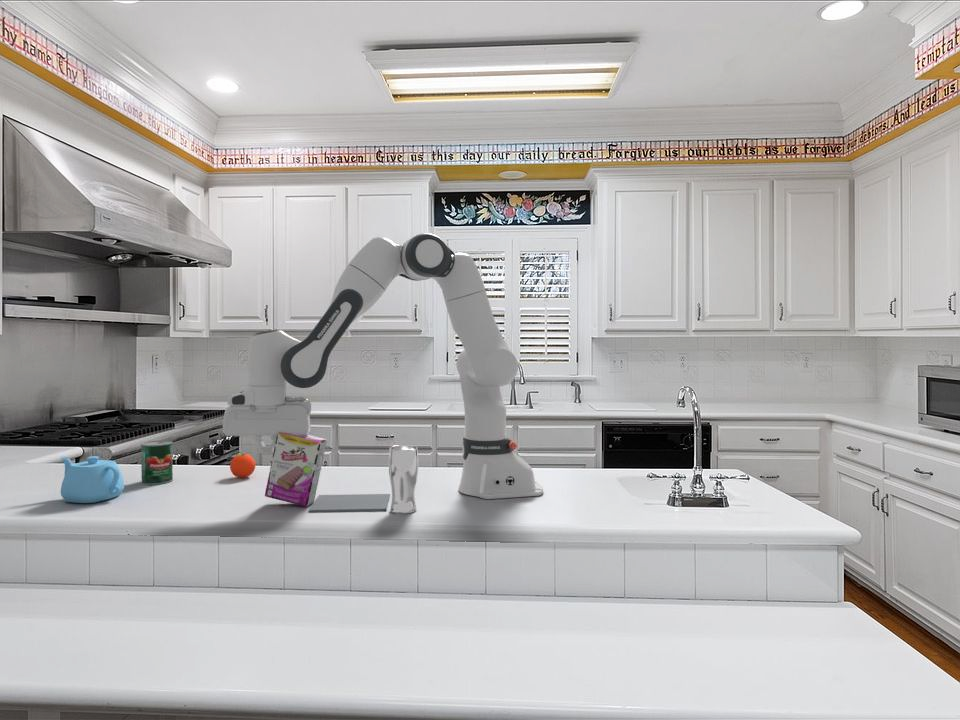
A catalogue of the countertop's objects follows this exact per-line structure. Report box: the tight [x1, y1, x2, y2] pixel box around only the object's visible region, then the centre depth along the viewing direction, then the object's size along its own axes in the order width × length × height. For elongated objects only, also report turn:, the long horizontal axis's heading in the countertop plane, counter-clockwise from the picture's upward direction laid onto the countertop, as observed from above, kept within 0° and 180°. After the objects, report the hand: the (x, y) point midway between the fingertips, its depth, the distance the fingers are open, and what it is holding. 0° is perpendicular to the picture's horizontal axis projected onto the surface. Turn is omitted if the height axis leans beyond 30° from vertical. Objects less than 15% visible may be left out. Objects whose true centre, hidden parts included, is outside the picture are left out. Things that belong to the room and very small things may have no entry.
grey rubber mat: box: [308, 493, 391, 513], centre depth 156 cm, size 18×14×1 cm
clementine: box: [229, 453, 256, 479], centre depth 184 cm, size 8×7×7 cm
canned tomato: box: [140, 439, 174, 486], centre depth 178 cm, size 8×8×11 cm
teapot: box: [60, 455, 125, 504], centre depth 159 cm, size 13×11×18 cm
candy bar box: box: [264, 432, 328, 508], centre depth 154 cm, size 11×5×16 cm, turn 85°
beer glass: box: [388, 444, 419, 515], centre depth 150 cm, size 7×7×15 cm
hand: (267, 453), depth 154 cm, fingers closed
